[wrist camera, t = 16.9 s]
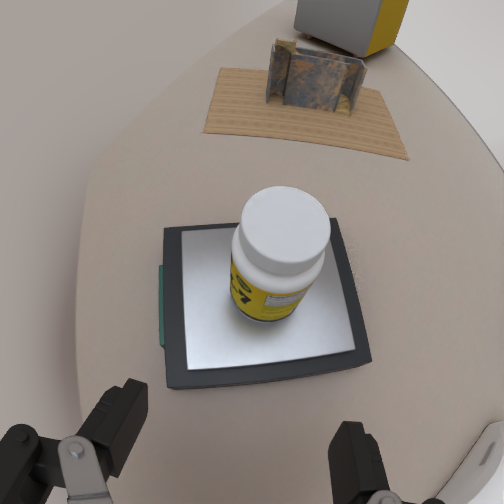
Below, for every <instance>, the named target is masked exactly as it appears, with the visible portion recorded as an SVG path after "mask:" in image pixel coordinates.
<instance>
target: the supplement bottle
mask: <svg viewBox="0 0 504 504" xmlns="http://www.w3.org/2000/svg"><path fill="white" fill-rule="evenodd" d="M330 232H331V227H330V220H329V217H328V215H327V213H326V211H325V209H324V208H323V206H322V205H321V204H320V203H319V202H318V201H317V200H316V199H315V198H314V197H312V196H311V195H309V194H308V193H306V192H304V191H302V190H299V189H296V188H293V187H286V186H275V187H269V188H266V189H263V190H261V191H259V192H257V193H256V194H254V195H253V196H252V197H251V198H250V199H249V200H248V201H247V203H246V204H245V206H244V208H243V211H242V214H241V220H240V223H239V225H238V226H237V228H236V230H235V232H234V235H233V238H232V244H231V266H230V293H231V297H232V300H233V302H234V304H235V306H236V307H237V309H238V310H239V311H240V312H241V313H242V314H243V315H244V316H245V317H247V318H249V319H251V320H253V321H256V322H259V323H274V322H278V321H281V320H283V319H285V318H286V317H288V316H289V315H290V314H292V312H293V311H294V310H295V309H296V308H297V306H298V305H299V303H300V302H301V300H302V299H303V297H304V296H305V294H306V293H307V291H308V290H309V288H310V287H311V285H312V284H313V282H314V281H315V279H316V278H317V277H318V275H319V273H320V271H321V269H322V266H323V263H324V257H325V247H326V245H327V243H328V241H329V238H330Z"/></svg>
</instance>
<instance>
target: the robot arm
mask: <svg viewBox="0 0 504 504" xmlns="http://www.w3.org/2000/svg"><path fill="white" fill-rule="evenodd" d="M147 413H148V385H147V383H143V382H140V381H137V380H134V379H131V378H129V379H128V380H127V382H126V383H125V385H124V386H123V388H120V387H117V386H114V387H112V388H111V389H109V390H107V391H106V392H105V393H104V394H103V396H102V397H101V399H100V400H99V402H98V403H97V404H96V406H95V408H94V409H93V410H92V412H91V413H90V415H89V416H88V418H87V419H86V421H85V422H84V424H83V425H82V427H81V428H80V429H79V431H78V432H77V434H76V435H74V436H69V437H66V438H64V439H63V440H55V439H50V438H45V437H40V436H38V434H37V432H36V431H35V429H34V428H32V427H31V426H29V425H26V424H17V425H14V426H12V427H11V428H10V429H9V430H8V431H7V433H6V434H5V435H4V437H3V438H2V440H1V441H0V504H45V503H46V501H47V498H48V497H49V495H50V493H51V491H52V489H53V487H54V486H57V487H62V488H66V489H67V493H68V498H67V502H68V504H114V503H113V501H112V498H111V496H110V493H109V490H108V488H107V485H106V482H107V480H108V478H109V476H110V475H111V476H114V477H116V478H118V477H119V475H120V472H121V470H122V468H123V466H124V464H125V462H126V460H127V458H128V456H129V453H130V451H131V449H132V447H133V445H134V443H135V441H136V439H137V437H138V435H139V433H140V431H141V429H142V426H143V424H144V422H145V420H146V417H147ZM328 460H329V468H330V477H331V486H332V495H333V504H415V503H409V502H404V501H401V499H400V497H399V496H398V495H397V494H396V493H394V492H392V491H390V488H389V484H388V481H387V477H386V473H385V469H384V465H383V462H382V458H381V454H380V451H379V447H378V443H377V442H376V440H375V439H374V438H373V437H372V435H371V434H365V431H364V428H363V424H362V423H361V422H352V421H343V422H342V423H341V425H340V427H339V429H338V430H337V432H336V434H335V436H334V437H333V439H332V441H331V443H330V445H329V449H328ZM422 504H445V503H444V502H443V501H442V500H440V499H437V498H430V499H427V500H426V501H424V502H423V503H422Z"/></svg>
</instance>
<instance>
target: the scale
mask: <svg viewBox="0 0 504 504" xmlns="http://www.w3.org/2000/svg"><path fill="white" fill-rule="evenodd" d="M329 220H330V227H331V232H330V241H331V245H332V249H333V253H334V257H335V261H336V264H337V268H338V272H339V276H340V281H341V285H342V289H343V293H344V297H345V302H346V306H347V311H348V315H349V320H350V324H351V329H352V334H353V339H354V343H355V350H354V351H352V352H348V353H342V354H337V355H331V356H326V357H320V358H313V359H307V360H301V361H294V362H287V363H279V364H271V365H263V366H254V367H244V368H234V369H222V370H209V371H193V372H189V371H188V370H187V363H186V349H185V333H184V315H183V291H182V247H181V232H182V231H192V230H206V229H221V228H236V227H237V226H238V225H239V223H226V224H210V225H196V226H182V227H169V228H164V239H163V265H159V333H160V345H161V346H162V347H163V348H164V349H165V364H166V379H167V388H170V389H173V390H183V389H203V388H217V387H230V386H240V385H250V384H259V383H267V382H275V381H282V380H289V379H296V378H302V377H308V376H314V375H320V374H325V373H331V372H336V371H341V370H346V369H351V368H355V367H359V366H362V365H365V364H367V363H370V362H372V358H371V353H370V348H369V343H368V338H367V334H366V329H365V325H364V320H363V316H362V311H361V307H360V303H359V299H358V295H357V291H356V287H355V283H354V279H353V275H352V271H351V268H350V264H349V260H348V257H347V253H346V249H345V246H344V242H343V239H342V235H341V232H340V229H339V225H338V222H337V219H336V218H329Z"/></svg>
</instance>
